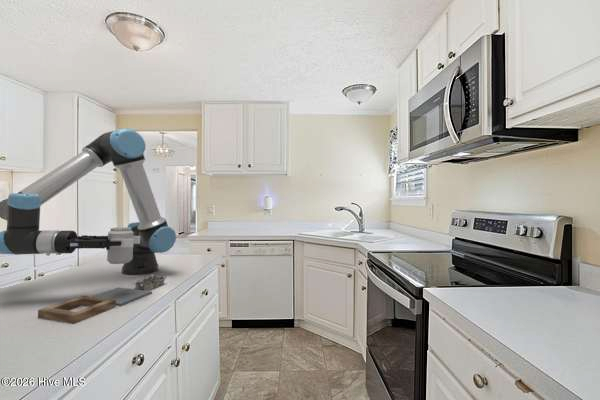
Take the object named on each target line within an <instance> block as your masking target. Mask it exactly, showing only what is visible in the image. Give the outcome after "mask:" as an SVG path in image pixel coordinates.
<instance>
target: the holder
mask: <svg viewBox="0 0 600 400" xmlns="http://www.w3.org/2000/svg"><path fill="white" fill-rule="evenodd" d="M81 306H84V307H85V308H82V309H78V310H77V311H74V310H73V309H77V308H79V307H81ZM114 308H117V306H116V300H112V299H105V298H98V297H91V296H89V295H82V296H77V297H76V298H72V299H69V300H66V301H63V302H59V303H56V304H53V305H50V306H45V307H44V308H40V309H38V310H37V318H38V319H42V320H48V321H53V320H54V322H59V321H62V322H61V323H65V322H67V323H66V324H71V323H72V325H74V324H77V323H79V322H82V321H84V320H86V319H89V318H91V317H94V316H97V315H100V314H102V313H104V312H106V311H109V310H111V309H114ZM70 309H71V310H70ZM72 310H73V311H72ZM81 320H82V321H81ZM76 322H77V323H76Z"/></svg>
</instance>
